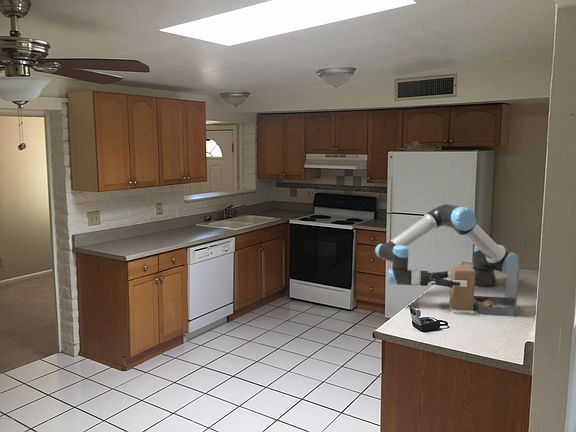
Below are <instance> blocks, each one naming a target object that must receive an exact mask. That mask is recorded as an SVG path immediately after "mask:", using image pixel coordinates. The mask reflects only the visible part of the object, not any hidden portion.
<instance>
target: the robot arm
mask: <svg viewBox="0 0 576 432" xmlns="http://www.w3.org/2000/svg"><path fill="white" fill-rule="evenodd" d="M440 227H446V228H451V229H453V230H454V231H455V232H456V233H457V234H458V235H460V236H464V237H466V238H467V240H469V241H470V242H471V244H473V245H474V247H473V248H474V249H473V255H472V257H473V259H472V268H473V269H474V270H475V286H477V287H483V288H492V287H496V286H497V284H498V283H497V282H498V280H497V276H496V273H495V271H498V272H502V273H504V274H507V261H508V259H510V260H512V261H513V262H514V263H515V264H516V265H518V266H519V257H518V254H516V253H514V252H511V251H509V250H508V249H507V248H506V247H505V246H504V245H502V244H497V243H496V241H494V239H493V238H491V236H489V235H488V234H487V233H486V232H485V231H484V230H483V229H482V228H481V226H480V225H478V223H477V218H476V213H475V212H474V210H473V209H471V208H469V207H465V206H458V205H453V204H452V205H451V204H441V205H438V206H437V207H434V208H433V209H431V210H429V211H428V212H426V213H424V215H423V217H422V218H421V219H419V220H417V222H415V223H414V224H412V225H410V226H409V227H408V228H406V229H405V230H403V231H402V232H400V234H398V235H396V236H395V237H393V238H392V239H391V240H389V241H387V242H386V243H379V244H377V246H376V247H375V249H374V252H375V255H376V257H378V258H380V259H381V260H385V261H388V262H391V263H392V268H389V269H388V271H387V282H388V284H390V285H397V286H400V285H401V286H403V285H404V286H412V287H415V286H421V287H422V286H423V287H427V286H428V285H429V283H430V284H431V285H432V286H440V287H444V288H445V287H446V288H449V289H450V288H453V286H460V287H467V281H458V280H453V281H451V272H449V271H447V270H446V271H436V272H435V271H434V272H429V271H428V270H417V269H409V267H408V266H409V255H410V254H409V248H408V247H409V246H410V245H411V244H414V242H416V241H417V240H418V239H420V238H421V237H423V236H424V235H426V234H427V233H429V232H430V231H431V230H437V229H439V228H440Z"/></svg>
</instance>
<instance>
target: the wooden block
mask: <svg viewBox="0 0 576 432" xmlns="http://www.w3.org/2000/svg"><path fill="white" fill-rule="evenodd" d="M450 270H451V271H450V273H451V279H450V281H453V280H458V281H467V287H460V286H453V288H450V287H449V300H448V301H449V302H450V304H451V306H452V308H453V309H463V310H472V309H473V310H474V307H473V303H474V296H475V286H476V285H475V270H474V269H473V265H472V266H471V265H458V264H457V265H456V264H452V265H451V267H450Z"/></svg>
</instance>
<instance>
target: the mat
mask: <svg viewBox="0 0 576 432" xmlns="http://www.w3.org/2000/svg"><path fill="white" fill-rule="evenodd" d="M449 301H450V300H447V303H448V305H449V307H450V310H451V312H452V313H453V314H466V313H468V314H470V315H475V314H476V313H475V311H474V308H473V309H472V310H463V309H453V308H452V306H451V304H450V302H449Z"/></svg>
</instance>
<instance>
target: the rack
mask: <svg viewBox="0 0 576 432" xmlns="http://www.w3.org/2000/svg"><path fill="white" fill-rule="evenodd" d="M519 277H520V266H519V264H518V265H516V264H515V263H514V262H513V261H512V260H510V259H508V261H507V273H506V277H505V289H504V290H505V291H504V297H503V296H486V295H485V296H483V295H474V303H473V309H474V308H475V309H474V310H475V311H477V312H476V313H477V315H479V314H482V316H499V317H503V316H504V317H516V316H517V307H518V305H517V304H518V294H519V293H518V291H519V281H520V279H519ZM486 300H490V301H491V302H493V303H494V304H493V306H492V307H490V306H480V305H479V304H478V302H477V301H481V302H482V303H483V301H486Z"/></svg>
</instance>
